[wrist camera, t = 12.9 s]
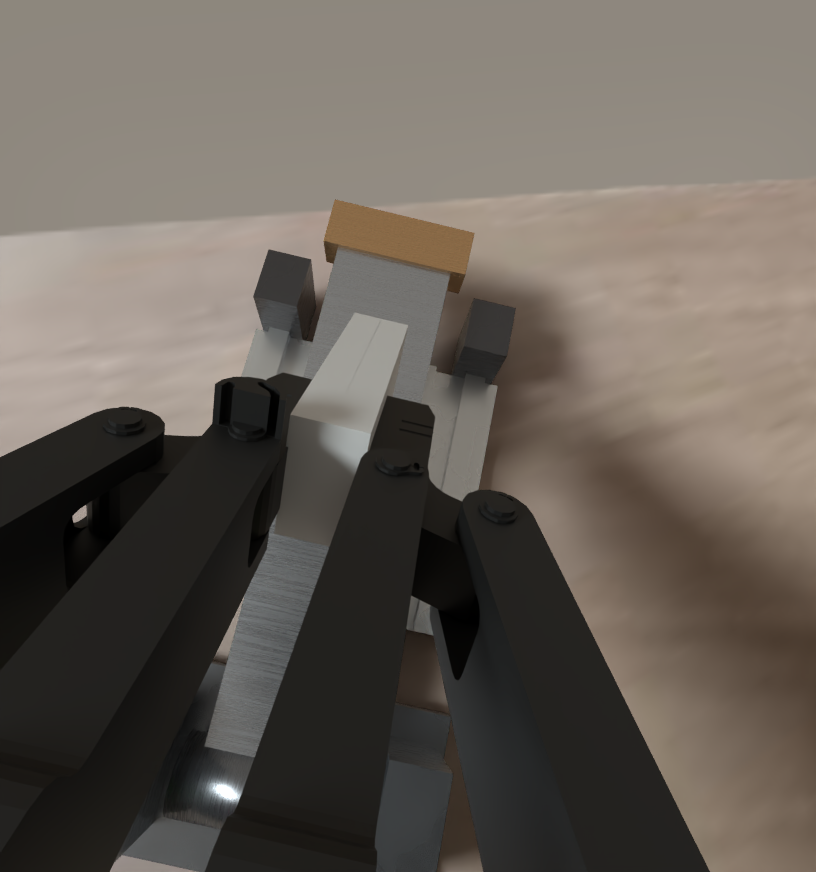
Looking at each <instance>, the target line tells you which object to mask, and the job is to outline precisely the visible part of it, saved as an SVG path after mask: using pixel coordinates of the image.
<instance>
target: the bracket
mask: <svg viewBox="0 0 816 872" xmlns="http://www.w3.org/2000/svg"><path fill="white" fill-rule="evenodd" d="M253 297H254V300H255V303H256V307H257V310H258V313H259V317H260V320H261V323H262V327H263V330H264V331H262V330H258V329H256V332H255V335H254V338H253V341H252V345H251V348H250V351H249V354H248V357H247V360H246V363H245V366H244V369H243V373H242V376H241V377H253V378H260V379H264V380H267V379H268V378H270V377H273V376H275V375H278V374H280V373H282V372H283V373H288V374H292V375H296V376H300V377H303V376H304V373H305V369H306V365H307V361H308V358H309V354H310V350H311V346H312V343H313V342H309V341H306V338H307V335H308V331H309V328H310V325H311V321H312V318H313V314H314V311H315V307H316V300H315V291H314V281H313V272H312V263H311V259H307V258H303V257H298V256H294V255H290V254H286V253H282V252H277V251H273V250H268V253H267V256H266V259H265V262H264V265H263V269H262V272H261V275H260V278H259V281H258V284H257V287H256V290H255V293H254V296H253ZM515 309H516V308H512V307H508V306H504V305H500V304H496V303H491V302H487V301H483V300H479V299H475V298H474V299H473V302H472V305H471V307H470V310H469V313H468V315H467V318H466V321H465V323H464V326H463V329H462V331H461V334H460V337H459V340H458V344H457V349H456V354H455V358H454V363H453V368H452V373H451V375H449V374H444V373H440V372H436V369H437V366H433V365H430V366H429V370H428V374H427V379H426V383H425V388H424V392H423V396H422V401H421V404H425V405H428V406H429V407H430V409H431V410H432V412H433V414H434V415H435V423H434V429H433V436H432V443H431V449H430V456H429V462H428V470H429V478H430V480H431V482H432V483H433V484H434V485H435V486H436V487H437V488H438V489H440V490H441V491H442V492H444V493H446V494H448V495H449V496H451V497H453V498H455V499H458V500H460V501H463V499H464V498H465V496H466V495H467V494H468V493H471V492H474V491H476V490H478V489H479V484H480V479H481V473H482V468H483V462H484V457H485V452H486V446H487V441H488V436H489V430H490V425H491V419H492V414H493V409H494V403H495V398H496V393H497V387H498V386H495V385H491V383H492V381H493V379H494V378H495V376H496V374H497V372H498V371H499V369H500V367H501V365H502V364H503V362H504V360H505V359H506V357H507V353H508V347H509V342H510V336H511V331H512V326H513V320H514V315H515ZM430 606H431V605H429V604H427V603H425V602H423V601H421V600H419V599H417V598H415V597H413V596H411V600H410V607H409V614H408V621H407V627H406V630H410V631H415V632H419V633H424V634H428V635H432V636H433V631H432V627H431V622H430ZM225 668H226V664H223V663H219V662H215V661H212V662H211V664H210V667H209V669H208V671H207V673H206V675H205V677H204V679H203V681H202V683H201V685H200V687H199V689H198V691H197V693H196V695H195V697H194V699H193V701H192V703H191V706H190V708H189V710H188V712H187V714H186V716H185V718H184V720H183V722H182V724H181V726H180V728H179V730H178V732H177V734H176V736H175V738H174V740H173V742H172V745H171V747H170V749H169V751H168V753H167V755H166V757H165V759H164V761H163V763H162V765H161V767H160V769H159V771H158V773H157V775H156V777H155V779H154V781H153V783H152V786H151V788H150V790H149V792H148V794H147V796H146V798H145V800H144V802H143V804H142V806H141V808H140V810H139V812H138V814H137V816H136V818H135V820H134V822H133V825H132V827H131V829H130V831H129V833H128V835H127V837H126V839H125V841H124V843H123V845H122V847H121V849H120V851H119V853H118V855H117V857H116V859H115V861H116V860H117V859H118V858H119V857H120V856H121V855H125V856H130V857H134V858H139V859H143V860H148V861H152V862H157V863H162V864H166V865H171V866H175V867H180V868H185V869H189V870H194V871H198V872H205V870H206V867H207V864H208V862H209V859H210V856H211V853H212V851H213V848H214V846H215V843H216V841H217V838H218V836H219V833H220V831H221V830H219V829H214V828H210V827H205V826H201V825H196V824H191V823H187V822H182V821H178V820H173V819H169V818H165V817H164V816H163V809H164V802H165V797H166V793H167V789H168V785H169V782H170V778H171V775H172V772H173V769H174V766H175V763H176V761H177V758H178V756H179V753H180V751H181V749H182V746H183V744H184V742H185V740H186V738H187V737H188V735H189V733H190V732H191V731H192V730H193V729H196V730H200V731H205V732H208V731H209V728H210V724H211V720H212V716H213V713H214V709H215V705H216V701H217V698H218V694H219V690H220V686H221V683H222V679H223V675H224V672H225ZM450 721H451V716H449V715H448V714H446V713H441V712H437V711H432V710H428V709H424V708H419V707H415V706H410V705H406V704H401V703H397V702H395V707H394V714H393V721H392V727H391V734H390V741H389V747H388V754H387V761H386V768H385V774H384V781H383V788H382V794H381V801H380V808H379V814H378V821H377V828H376V836H375V848H376V850H377V868H376V872H436V870H437V865H438V859H439V853H440V847H441V842H442V836H443V830H444V824H445V819H446V813H447V807H448V801H449V796H450V790H451V784H452V778H453V773H452V771H451V770H450V768H449V767H448V765H447V764H446V762H445V761H444V755H445V749H446V743H447V738H448V732H449V727H450ZM115 861H114V862H115Z"/></svg>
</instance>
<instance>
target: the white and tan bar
mask: <svg viewBox="0 0 816 872" xmlns="http://www.w3.org/2000/svg"><path fill="white" fill-rule="evenodd" d="M473 238H474V233H472V232H468V231H464V230H460V229H456V228H451V227H447V226H443V225H439V224H435V223H431V222H426V221H422V220H418V219H414V218H410V217H406V216H401V215H397V214H393V213H389V212H385V211H381V210H377V209H372V208H368V207H364V206H359V205H356V204H352V203H347V202H343V201H339V200H335V201H334V205H333V208H332V212H331V216H330V219H329V223H328V227H327V230H326V234H325V238H324V247H325V254H326V261H327V262H329V263H333V268H332V272H331V275H330V279H329V283H328V287H327V290H326V294H325V298H324V302H323V305H322V309H321V313H320V317H319V320H318V324H317V328H316V332H315V335H314V339H313V343H312V346H311V350H310V354H309V358H308V361H307V365H306V369H305V373H304V376H303V377H304V378H309V379H313V378H314V376H315V375H316V373H317V372H318V370H319V368H320V367H321V365H322V364H323V362H324V361H325V359H326V357H327V356H328V354H329V353H330V351H331V350H332V348H333V346H334V345H335V343H336V342H337V340H338V339H339V337H340V335H341V334H342V332H343V331H344V329H345V327H346V326H347V324H348V323H349V321H350V320H351V318H352V316H353V315H354V313H359V314H363V315H367V316H372V317H376V318H380V319H384V320H388V321H393V322H397V323H401V324H405V325H408V329H407V334H406V338H405V343H404V347H403V352H402V357H401V361H400V366H399V370H398V375H397V379H396V384H395V388H394V393H393V397H396V398H400V399H404V400H408V401H412V402H417V403H421V401H422V396H423V392H424V388H425V383H426V379H427V374H428V370H429V366H430V361H431V357H432V352H433V348H434V344H435V339H436V335H437V330H438V326H439V322H440V317H441V313H442V308H443V304H444V300H445V295H446V291H451V292H455V293H459V291H460V288H461V285H462V282H463V280H464V277H465V273H466V269H467V264H468V260H469V256H470V251H471V247H472V242H473ZM276 516H277V515H276ZM275 523H276V517H275V519H274V521H273V523H272V525H271V527H270V530H269V537H268V544H267V550H266V552H265V554H264V556H263V558H262V560H261V562H260V564H259V566H258V568H257V570H256V572H255V574H254V576H253V578H252V580H251V582H250V584H249V587H248V589H247V591H246V593H245V597H244V601H243V604H242V608H241V612H240V615H239V619H238V623H237V627H236V630H235V634H234V638H233V642H232V645H231V649H230V653H229V657H228V660H227V664H226V668H225V672H224V675H223V679H222V683H221V686H220V690H219V694H218V698H217V701H216V705H215V709H214V713H213V716H212V720H211V724H210V728H209V731H208V732H205V731H200V730H196V729H193V730H192V731H191V732H190V733H189V735H188V737H187V738H186V740H185V742H184V744H183V746H182V749H181V751H180V753H179V756H178V758H177V761H176V763H175V766H174V769H173V772H172V775H171V778H170V782H169V785H168V789H167V793H166V797H165V802H164V809H163V816H164V817H165V818H169V819H173V820H178V821H182V822H187V823H191V824H196V825H201V826H205V827H210V828H214V829H219V830H221V828H222V826H223V825H224V823H225V821H226V819H227V817H228V816H229V815H231V814H233V813H234V811H235V809H236V807H237V804H238V802H239V799H240V797H241V794H242V791H243V788H244V786H245V783H246V780H247V777H248V774H249V772H250V769H251V766H252V763H253V760H254V757H255V755H256V752H257V749H258V746H259V743H260V741H261V738H262V735H263V732H264V729H265V727H266V724H267V721H268V718H269V715H270V712H271V710H272V707H273V704H274V701H275V698H276V696H277V693H278V690H279V687H280V684H281V682H282V679H283V676H284V673H285V670H286V667H287V665H288V662H289V659H290V656H291V653H292V651H293V648H294V645H295V642H296V639H297V637H298V634H299V631H300V628H301V625H302V622H303V620H304V617H305V614H306V611H307V608H308V606H309V603H310V600H311V597H312V594H313V592H314V589H315V586H316V583H317V580H318V577H319V575H320V572H321V569H322V566H323V563H324V561H325V558H326V555H327V552H328V549H329V546H325V545H321V544H316V543H312V542H308V541H304V540H299V539H295V538H291V537H287V536H282V535H278V534H274V531H275Z"/></svg>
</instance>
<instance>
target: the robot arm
mask: <svg viewBox="0 0 816 872" xmlns="http://www.w3.org/2000/svg"><path fill="white" fill-rule="evenodd" d="M407 329H408V325H405V324H401V323H397V322H393V321H388V320H384V319H380V318H376V317H372V316H367V315H363V314H359V313H354V315H353V316H352V318H351V320H350V321H349V323H348V324H347V326H346V327H345V329H344V331H343V332H342V334H341V335H340V337H339V339H338V340H337V342H336V343H335V345H334V346H333V348H332V350H331V351H330V353H329V354H328V356H327V357H326V359H325V361H324V362H323V364H322V365H321V367H320V368H319V370H318V372H317V373H316V375H315V376H314V378H313V379H309V378H304V377H300V376H296V375H292V374H288V373H283V372H282V373H280V374H278V375H275V376H273V377H270V378H268V379H267V380H264V379H260V378H253V377H232V378H227V379H223V380H221V381H219V382H218V383H216V384H215V394H214V408H213V422H212V425H211V426H210V427H209V428H208V429H207V430H206V432H205V433H204V434H203V435H202V436H172V435H164V432H165V423H164V422H163V421H162V419H161V418H160V417H159V416H157V415H155V414H154V413H152V412H149V411H146V410H142V409H139V408H134V407H131V408H129V407H119V408H111V409H105V410H102V411H99V412H96V413H93V414H91V415H89V416H87V417H85V418H83V419H81V420H78V421H76V422H74V423H72V424H70V425H68V426H66V427H64V428H61V429H59V430H57V431H55V432H53V433H51V434H49V435H46V436H44V437H42V438H40V439H38V440H36V441H34V442H32V443H29V444H27V445H25V446H23V447H21V448H19V449H17V450H15V451H12V452H10V453H8V454H6V455H4V456H2V457H0V872H110V870H111V868H112V866H113V863H114V861H115V859H116V857H117V855H118V853H119V851H120V849H121V847H122V845H123V843H124V841H125V839H126V837H127V835H128V833H129V831H130V829H131V827H132V825H133V822H134V820H135V818H136V816H137V814H138V812H139V810H140V808H141V806H142V804H143V802H144V800H145V798H146V796H147V794H148V792H149V790H150V788H151V786H152V783H153V781H154V779H155V777H156V775H157V773H158V771H159V769H160V767H161V765H162V763H163V761H164V759H165V757H166V755H167V753H168V751H169V749H170V747H171V745H172V742H173V740H174V738H175V736H176V734H177V732H178V730H179V728H180V726H181V724H182V722H183V720H184V718H185V716H186V714H187V712H188V710H189V708H190V706H191V703H192V701H193V699H194V697H195V695H196V693H197V691H198V689H199V687H200V685H201V683H202V681H203V679H204V677H205V675H206V673H207V671H208V669H209V667H210V664H211V662H212V660H213V658H214V656H215V654H216V652H217V650H218V648H219V646H220V644H221V642H222V640H223V638H224V636H225V634H226V632H227V630H228V628H229V626H230V623H231V621H232V619H233V617H234V615H235V613H236V611H237V609H238V607H239V605H240V603H241V601H242V599H243V597H244V595H245V593H246V591H247V589H248V587H249V584H250V582H251V580H252V578H253V576H254V574H255V572H256V570H257V568H258V566H259V564H260V562H261V560H262V558H263V556H264V554H265V552H266V550H267V544H268V537H269V530H270V527H271V525H272V523H273V521H274V519H275V517H276V523H275V531H274V534H278V535H282V536H287V537H291V538H295V539H299V540H304V541H308V542H312V543H316V544H321V545H325V546H329V549H328V552H327V555H326V558H325V561H324V563H323V566H322V569H321V572H320V575H319V577H318V580H317V583H316V586H315V589H314V592H313V594H312V597H311V600H310V603H309V606H308V608H307V611H306V614H305V617H304V620H303V622H302V625H301V628H300V631H299V634H298V637H297V639H296V642H295V645H294V648H293V651H292V653H291V656H290V659H289V662H288V665H287V667H286V670H285V673H284V676H283V679H282V682H281V684H280V687H279V690H278V693H277V696H276V698H275V701H274V704H273V707H272V710H271V712H270V715H269V718H268V721H267V724H266V727H265V729H264V732H263V735H262V738H261V741H260V743H259V746H258V749H257V752H256V755H255V757H254V760H253V763H252V766H251V769H250V772H249V774H248V777H247V780H246V783H245V786H244V788H243V791H242V794H241V797H240V799H239V802H238V804H237V807H236V809H235V811H234V813H233V814H231V815H229V816H228V817H227V819H226V821H225V823H224V825H223V826H222V828H221V831H220V833H219V836H218V838H217V841H216V843H215V846H214V848H213V851H212V853H211V856H210V859H209V862H208V864H207V867H206V870H205V872H376V868H377V850H376V848H375V836H376V828H377V821H378V814H379V808H380V801H381V794H382V788H383V781H384V774H385V768H386V761H387V754H388V747H389V741H390V734H391V727H392V721H393V714H394V707H395V701H396V694H397V687H398V681H399V674H400V667H401V661H402V654H403V647H404V641H405V634H406V627H407V621H408V614H409V607H410V600H411V596H413V597H415V598H417V599H419V600H421V601H423V602H425V603H427V604H429V605H431V606H430V622H431V627H432V631H433V636H434V641H435V645H436V650H437V655H438V660H439V664H440V669H441V674H442V678H443V683H444V688H445V693H446V697H447V702H448V707H449V711H450V716H451V721H452V726H453V730H454V735H455V740H456V744H457V749H458V754H459V759H460V763H461V768H462V773H463V777H464V782H465V787H466V792H467V796H468V801H469V806H470V811H471V815H472V820H473V825H474V829H475V834H476V839H477V844H478V848H479V853H480V858H481V862H482V867H483V872H710V871H709V869H708V867H707V865H706V863H705V861H704V859H703V857H702V855H701V853H700V851H699V849H698V847H697V845H696V843H695V841H694V839H693V837H692V835H691V833H690V831H689V829H688V827H687V825H686V823H685V821H684V819H683V817H682V815H681V813H680V811H679V809H678V807H677V805H676V803H675V801H674V798H673V796H672V794H671V792H670V790H669V788H668V786H667V784H666V782H665V780H664V778H663V776H662V774H661V772H660V770H659V768H658V766H657V764H656V762H655V760H654V758H653V756H652V754H651V752H650V750H649V748H648V746H647V744H646V742H645V740H644V738H643V736H642V734H641V732H640V730H639V728H638V726H637V724H636V722H635V720H634V718H633V716H632V714H631V712H630V710H629V708H628V706H627V704H626V702H625V700H624V698H623V696H622V694H621V692H620V689H619V687H618V685H617V683H616V681H615V679H614V677H613V675H612V673H611V671H610V669H609V667H608V665H607V663H606V661H605V659H604V657H603V655H602V653H601V651H600V649H599V647H598V645H597V643H596V641H595V639H594V637H593V635H592V633H591V631H590V629H589V627H588V625H587V623H586V621H585V619H584V617H583V615H582V613H581V611H580V609H579V607H578V605H577V603H576V601H575V599H574V597H573V595H572V593H571V591H570V589H569V587H568V585H567V582H566V580H565V578H564V576H563V574H562V572H561V570H560V568H559V566H558V564H557V562H556V560H555V558H554V556H553V554H552V552H551V550H550V548H549V546H548V544H547V542H546V540H545V538H544V536H543V534H542V532H541V530H540V528H539V526H538V524H537V522H536V520H535V518H534V516H533V514H532V513H531V512H530V510H529V509H528V508H527V506H526V505H524V504H523V503H521V502H520V501H519V500H517V499H516V498H514V497H512V496H510V495H507V494H505V493H502V492H496V491H492V490H476V491H474V492H471V493H468V494H467V495H466V496H465V498H464V499H463V501H460V500H458V499H455V498H453V497H451V496H449V495H448V494H446V493H444V492H442V491H441V490H440V489H438V488H437V487H436V486H435V485H434V484H433V483H432V482H431V480H430V478H429V470H428V462H429V456H430V449H431V443H432V436H433V429H434V423H435V415H434V414H433V412H432V410H431V409H430V407H429V406H428V405H425V404H421V403H417V402H412V401H408V400H404V399H400V398H396V397H393V393H394V388H395V384H396V379H397V375H398V370H399V366H400V361H401V357H402V352H403V347H404V343H405V338H406V334H407ZM85 505H86V507H87V516H86V517H85V518H83V519H82V520H80V521H79V522H76V523H73V519H72V515H74V514H75V513H76V512H77V511H78V510H79V509H80V508H82V507H83V506H85ZM276 515H277V516H276Z"/></svg>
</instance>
